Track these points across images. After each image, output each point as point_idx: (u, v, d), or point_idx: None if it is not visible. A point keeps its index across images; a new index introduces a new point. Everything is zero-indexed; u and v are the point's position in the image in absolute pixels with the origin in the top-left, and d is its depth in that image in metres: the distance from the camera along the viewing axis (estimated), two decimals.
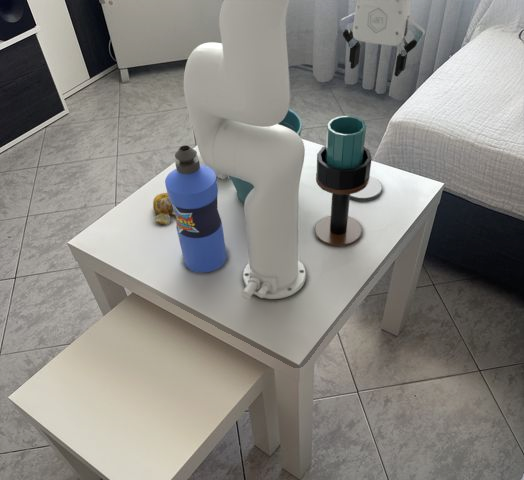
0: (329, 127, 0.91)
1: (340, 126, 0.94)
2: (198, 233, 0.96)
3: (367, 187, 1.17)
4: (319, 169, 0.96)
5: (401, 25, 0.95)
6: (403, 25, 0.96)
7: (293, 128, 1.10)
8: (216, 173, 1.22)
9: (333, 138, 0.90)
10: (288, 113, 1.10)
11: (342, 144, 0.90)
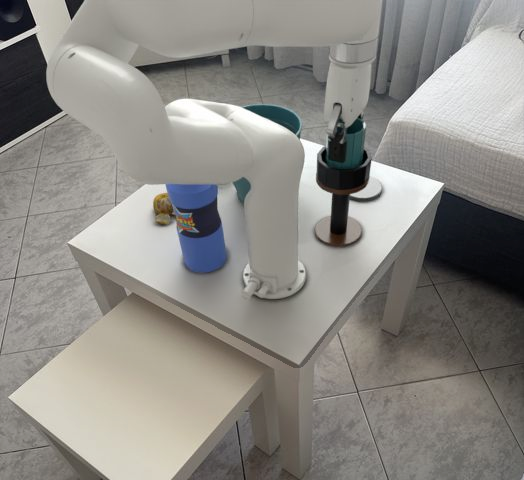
0: None
1: None
2: (198, 233, 0.96)
3: (367, 187, 1.17)
4: (319, 169, 0.96)
5: None
6: (326, 106, 0.85)
7: (293, 128, 1.10)
8: None
9: None
10: (288, 113, 1.10)
11: None
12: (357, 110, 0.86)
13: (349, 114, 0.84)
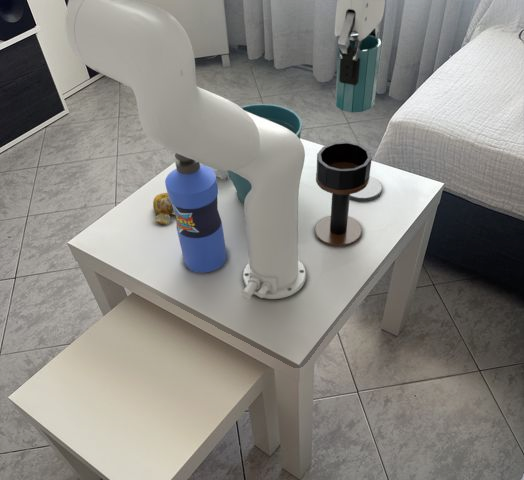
0: None
1: (352, 46, 0.86)
2: (198, 233, 0.96)
3: (367, 187, 1.17)
4: (319, 169, 0.96)
5: (336, 13, 0.77)
6: (337, 15, 0.77)
7: (293, 128, 1.10)
8: (216, 173, 1.22)
9: None
10: (288, 113, 1.10)
11: None
12: (372, 21, 0.78)
13: (363, 23, 0.76)
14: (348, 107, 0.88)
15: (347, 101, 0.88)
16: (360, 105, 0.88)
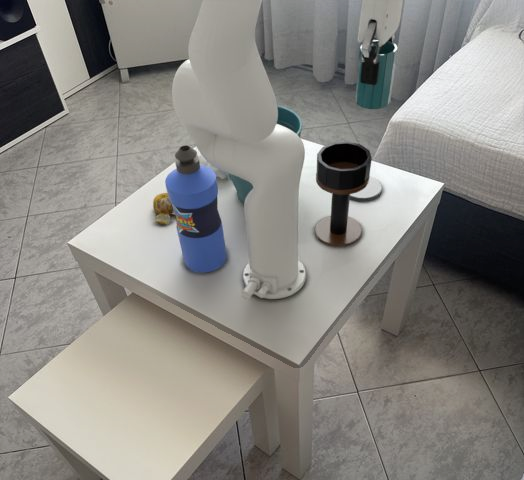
0: None
1: None
2: (198, 233, 0.96)
3: (367, 187, 1.17)
4: (319, 169, 0.96)
5: None
6: (361, 24, 0.88)
7: (293, 128, 1.10)
8: (216, 173, 1.22)
9: None
10: (288, 113, 1.10)
11: None
12: (390, 29, 0.90)
13: (383, 31, 0.88)
14: (367, 104, 1.00)
15: (366, 99, 0.99)
16: (378, 103, 0.99)
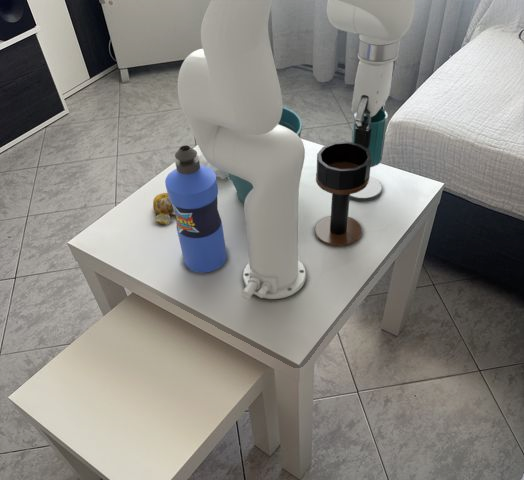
0: None
1: (364, 116, 1.08)
2: (198, 233, 0.96)
3: (367, 187, 1.17)
4: (319, 169, 0.96)
5: (353, 96, 0.99)
6: (354, 98, 0.98)
7: (293, 128, 1.10)
8: (216, 173, 1.22)
9: None
10: (288, 113, 1.10)
11: None
12: (381, 102, 1.00)
13: (374, 105, 0.98)
14: None
15: None
16: None
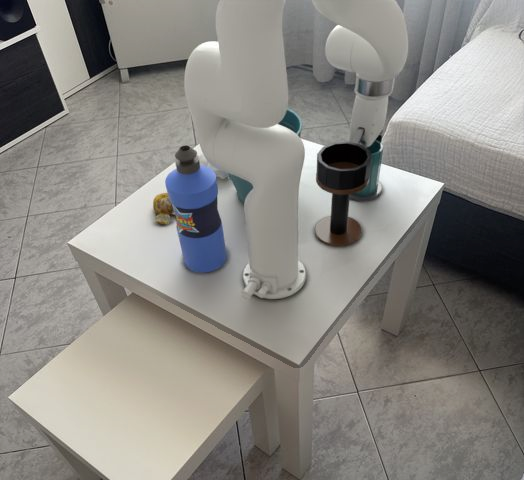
0: None
1: None
2: (198, 233, 0.96)
3: None
4: (319, 169, 0.96)
5: (350, 128, 1.04)
6: (351, 129, 1.03)
7: (293, 128, 1.10)
8: (216, 173, 1.22)
9: None
10: (288, 113, 1.10)
11: None
12: (376, 132, 1.05)
13: (370, 136, 1.03)
14: None
15: None
16: (367, 190, 1.15)
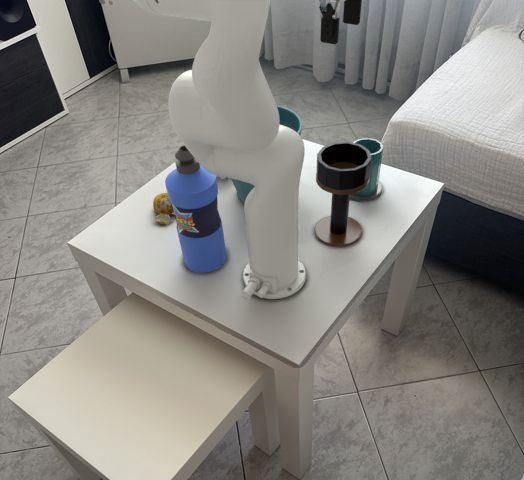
0: None
1: None
2: (198, 233, 0.96)
3: None
4: (319, 169, 0.96)
5: None
6: None
7: (293, 128, 1.10)
8: None
9: None
10: (288, 113, 1.10)
11: None
12: None
13: None
14: None
15: None
16: (367, 190, 1.15)
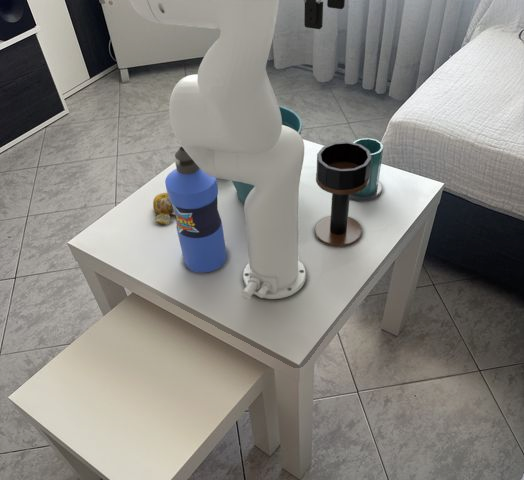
0: None
1: None
2: (198, 233, 0.96)
3: None
4: (319, 169, 0.96)
5: None
6: None
7: (293, 128, 1.10)
8: None
9: None
10: (288, 113, 1.10)
11: None
12: None
13: None
14: None
15: None
16: (367, 190, 1.15)
